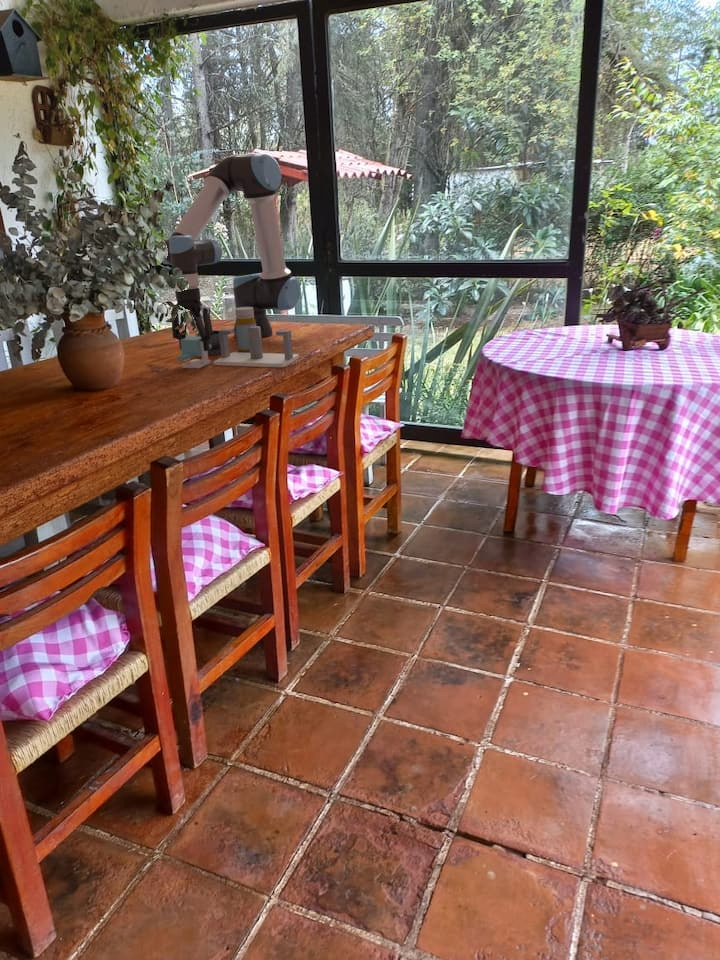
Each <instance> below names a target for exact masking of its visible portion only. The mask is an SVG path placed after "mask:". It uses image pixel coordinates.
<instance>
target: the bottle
mask: <svg viewBox="0 0 720 960" xmlns="http://www.w3.org/2000/svg"><path fill="white" fill-rule="evenodd" d="M235 321H236V322H235V323H236V333H237V338H236V342H237V350H238V351H237V352H241V353H250V344H249V334H248V327H251V326H256V321H255V318H254V310H253V307H239V308H236V307H235ZM235 323H234V324H235Z"/></svg>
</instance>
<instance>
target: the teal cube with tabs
mask: <svg viewBox="0 0 720 960" xmlns="http://www.w3.org/2000/svg"><path fill="white" fill-rule="evenodd" d="M185 337H186V338H184V339H181V340H180V342H181V349H182V350H181V349H180V350H181V355H178V356H176V360H177V362H179V361H180V362H183V361H184V360H186V359H188V358H190V359H191V358H193V357H202V355H201V346H200V341H201V340H202V339H201V337H199V336H194V335H193V336H192V335H191V336H190V335H189V336H185ZM211 348H212V345H209V349H211ZM207 352H208V351H207ZM184 362H185V361H184Z"/></svg>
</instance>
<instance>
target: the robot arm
mask: <svg viewBox="0 0 720 960" xmlns="http://www.w3.org/2000/svg"><path fill="white" fill-rule="evenodd" d="M281 183H282V172H281V168H280V165H279V163H278V161H277V160H276V158H275V157H274V156H272V155H271V154H270V153H266V152H253V153H241V154H231V155H229V156H227V157H226V156H225V158H223V159H222V160H220V161H219V162H218V163H217V164H216V165H215V166H213V168H212V169H211V170H210V171H209V173H208V174H207V175H206V177H205V178H204V180H203V187H202V188H201V190H200V192H198V194H197V195H196V197H195V199H194V201H192V204H190V207H189V208H188V209H187V211H186V212H185V213H184V215H183V217H182V218H181V220H180V221H179V223H178V224H177V226H176V227H175V229H174V230H173V231H172V233H171V235H170V236H169V238H167V239H163V240H164V241H165V243H166V245H167V248H168V256H167V258H165V259H164V261H163V263H162V264H165V265H171V269H172V268H175V267H178V268H180V269H181V270H182V273H183V276H184V277H185V278H186V279H187V281H188V283H189V288H188V289H187V290H184V291H181V292H177V291H174V293H175V298H176V299H175V300H176V301H177V302H176V306H177V305H180V306H182V307H184V308H185V309H188V310H190V311H191V313H192V315H193V317H194V320H195V321H196V326H197V328H196V329H198V330H197V331H198V333H199V334H200V336H201V339H202V340H201V341H200V346H201V359H202V362H205V361H207V360H209V354H208V352H207V351H208V350H209V342H208V340H209V339H211V338H213V337H214V336H213V330H214V329H213V326H212V325H213V324H212V320H211V319H212V318H211V307H210V306H204V305H203V304H202V303H201V290H200V288H199V286H200V282H199V274H198V273H199V272H198V267H199V266H207V265H211V266H212V265H215V264H218V263H219V262H220V261H221V260H222V258H223V247H222V246H221V244H220V242H218V241H217V240H215V239H208V238H207V239H202V240H201V239H199V238H200V237H201V234H202V233H203V231H204V230H205V228H206V227H207V225H208V224H209V222H210V221H211V219H212V218H213V217H214V215H215V213H216V211H217V210H218V208H219V206H220V205H221V204H222V202H223V201H225V200H227V199H228V198H229V197H230V195H232V194H233V193H235V192H242V193H243V198H244V200H246V201H247V202H248V203H249V206H250V211H251V215H252V216H251V217H252V221H253V227H254V232H255V237H256V241H257V242H256V243H257V248H258V252H259V258H260V262H261V267H262V272H259V273H252V274H246V275H240V276H236V277H234V279H233V281H232V283H233V285H232V286H233V288H232V291H233V297H234V298H233V299H234V305H235V309H236V308H239V307H253V310H254V318H255V321H256V326H260V329H261V339H262V338H267V337H271V336H273V334H274V333H273V328H272V325H271V322H270V320H269V317H268V316H267V310H274V311H275V310H276V311H290V310H292V309H294V308H295V307H296V306H297V305H298V303H299V300H300V297H301V285H300V282H299V281H298V279H297V278H295V277H293V276H292V271H291V270H290V269H289V268H288V267H287V265H286V261H285V255H284V250H283V248H284V247H283V244H282V237H281V231H280V226H279V222H278V215H277V214H278V213H277V209H276V203H275V198H276V196H277V195H278V190H277V189H279V188H280V186H281ZM198 239H199V240H198ZM170 309H171V307H169V308H168V310H170ZM170 315H171V316H170V318H171V317H172V313H170ZM179 316H180V317H179ZM202 319H203V320H202ZM235 322H236V320H235ZM182 323H183V316H182V313H180V315H179V313H178V314H177V316H176V318H175V320H174V321H173V322H172V321H171V327H172V338H173V339H176V340H178V343H179V349H180V351H182V349H181V342H180V340H181V339H184V338H186V337H187V336H186V335H187V329H188V328H187V327H188V323H187V324H186V325H185V334H184V335H181V334H180V332H179V330H177V329H175V328H176V327H177V326H179V327H180V325H181V324H182ZM196 326H195V327H196ZM233 329H234V333H233V337H234V338H236V339H237V333H236V323H234V328H233ZM190 360H191V358H188V359H186V360H184V362H188V361H190Z"/></svg>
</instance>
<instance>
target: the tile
mask: <svg viewBox="0 0 720 960" xmlns="http://www.w3.org/2000/svg"><path fill="white" fill-rule="evenodd" d="M211 361H212V360H211V359H208V360H207V361H205V362H202V358H201V359H197V358H195V359H194V358H193V359H192V360H191V359H190V360H188V361H186V362H185V363H182V364H181V367H182V369H183V368H185V369H201V368H202V367H205V366H207V365H209V364H211V363H212V362H211Z"/></svg>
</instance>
